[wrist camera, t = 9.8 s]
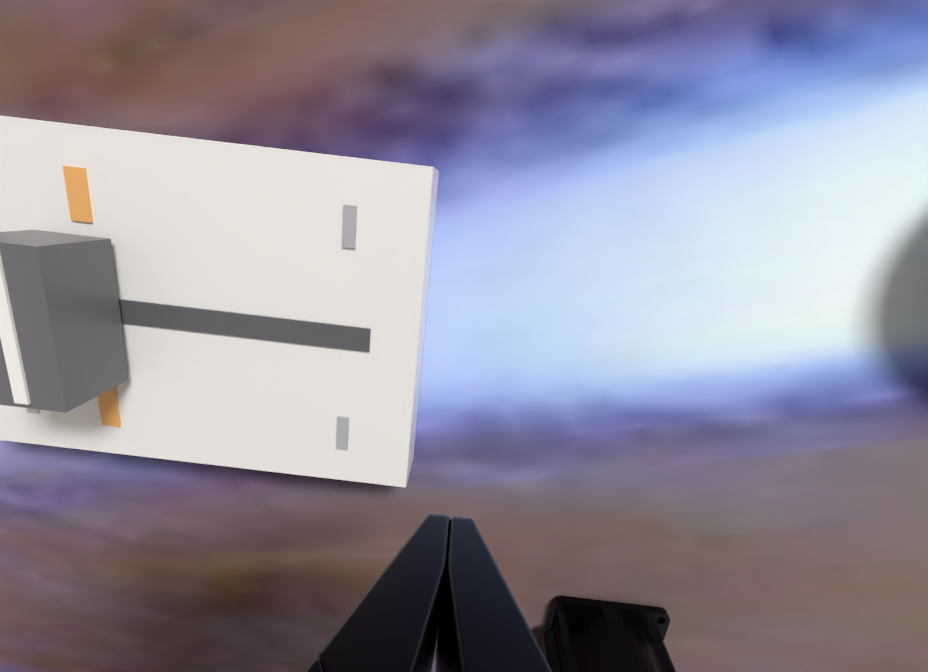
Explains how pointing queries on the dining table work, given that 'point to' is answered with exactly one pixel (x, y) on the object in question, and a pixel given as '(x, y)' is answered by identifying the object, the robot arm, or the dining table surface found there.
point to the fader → (58, 320)
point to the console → (239, 297)
